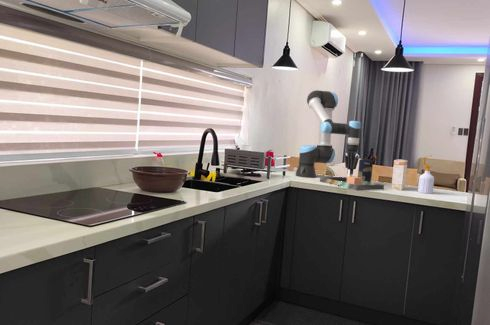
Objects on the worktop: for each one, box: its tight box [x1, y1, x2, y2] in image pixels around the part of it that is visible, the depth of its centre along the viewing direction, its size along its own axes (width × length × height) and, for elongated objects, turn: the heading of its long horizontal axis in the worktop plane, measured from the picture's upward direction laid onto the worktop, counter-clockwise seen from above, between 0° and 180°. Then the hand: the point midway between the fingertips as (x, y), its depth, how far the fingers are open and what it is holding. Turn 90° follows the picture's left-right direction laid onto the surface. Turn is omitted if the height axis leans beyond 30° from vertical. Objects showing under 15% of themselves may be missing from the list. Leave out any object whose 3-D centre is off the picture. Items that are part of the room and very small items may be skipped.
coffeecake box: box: [390, 158, 409, 191], centre depth 290 cm, size 15×7×20 cm, turn 152°
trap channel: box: [319, 176, 385, 191], centre depth 289 cm, size 34×24×3 cm
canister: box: [357, 157, 374, 182], centre depth 309 cm, size 10×10×18 cm
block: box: [346, 176, 362, 185], centre depth 287 cm, size 7×7×6 cm
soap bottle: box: [417, 155, 435, 195], centre depth 280 cm, size 9×9×25 cm
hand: (349, 179), depth 290 cm, fingers closed
